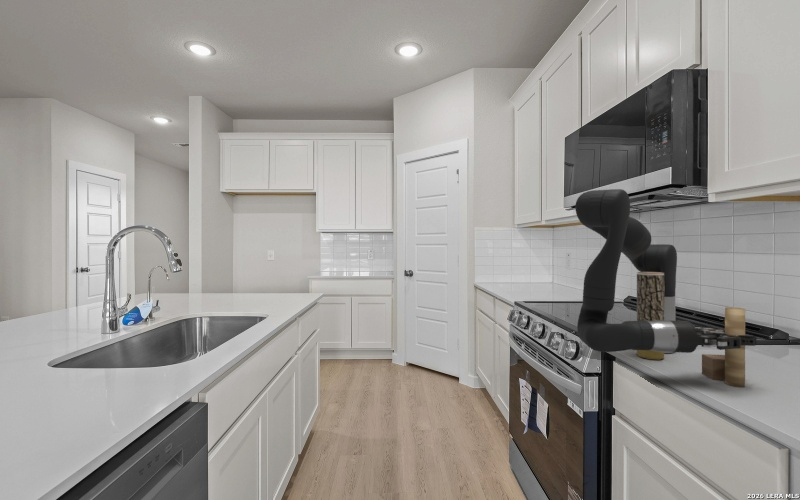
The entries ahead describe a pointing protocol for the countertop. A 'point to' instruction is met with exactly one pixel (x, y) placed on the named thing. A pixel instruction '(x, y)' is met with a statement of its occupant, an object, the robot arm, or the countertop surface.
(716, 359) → the wooden block
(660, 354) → the brown bark cylinder
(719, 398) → the countertop surface
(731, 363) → the dowel
